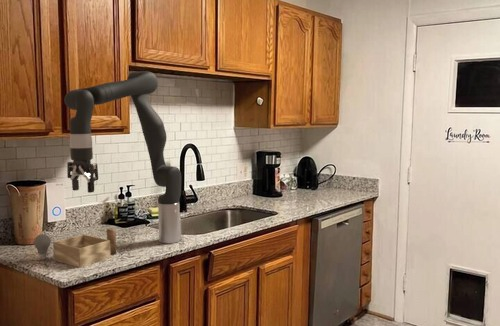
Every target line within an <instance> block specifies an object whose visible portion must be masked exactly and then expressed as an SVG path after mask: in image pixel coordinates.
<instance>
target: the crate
mask: <svg viewBox="0 0 500 326" xmlns="http://www.w3.org/2000/svg"><path fill="white" fill-rule="evenodd" d="M52 244H53V245H52V247H53V260H54V261H56V262H60V263H64V264H67V265H69V266H70V265H71V266H73V267H78V268H83V267H87V266H90V265H92V263H93V264H95V263H99V262H103V261H105V259H106V260H109V259H111V257H112V255H111V252H110V240H107V238H106V239H105V238H100V237H97V236H92V235H87V234H80V235H78V236H77V235H76V236H73V237H69V238H65V239H60V240H57V241H53V242H52ZM108 258H109V259H108Z"/></svg>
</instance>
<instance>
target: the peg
mask: <svg viewBox="0 0 500 326" xmlns="http://www.w3.org/2000/svg"><path fill="white" fill-rule="evenodd" d="M116 234H117V232H116V228H107V229H106V240H110V252H111V256H113V255H114V254H115V255H116V254H117V235H116Z"/></svg>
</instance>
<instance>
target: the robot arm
mask: <svg viewBox="0 0 500 326" xmlns="http://www.w3.org/2000/svg"><path fill="white" fill-rule="evenodd" d="M158 81H159V80H158V77H157V76H156V75H155V73H153V72H151V71H147V70H146V71H144V70H143V71H142V70H141V71H133V72H130V73H129V74H128V75H127V79H126V80H125V79H124V80H117V81H109V82H105V83H104V82H103V83H100V84H96V85H94V86H90V87H85V88H84V87H83V88H77V89H73V90H69V91H68V92H67V93H66V94H65V96H64V99H63V101H64V105H65V106H66V107H67V108H68V109H70V110H73V111H75V116H73V117H72V118H70V120H69V133H70V135H69V151H70V152H69V153H70V155H69V156H70V160H72V161H67V164H66V165H67V178H68V179H70V180H71V188H72V191H74V192H75V191H79V190H80V182H79V178H80V176H83V178H85V179H86V181H87V193H94V192H95V182H96V181H98V180H99V171H98V163H96V162H95V163H92V161H91V160H93V158H94V155H93V154H94V153H93V152H94V151H93V137H92V125H91V124H92V123H91V121H92V118H93V113H94V107H95V105H96V106H98V105H99V106H100V105H103V104H107V103H109V102H113V101H116V100H121V99H124V98H127V97H131V100H132V102H133V105H134V108H135V110H136V113H137V117H138V120H139V123H140V127H141V131H142V134H143V139H144V141H145V143H146V147H147V152H148V157H149V160H150V165H151V173H152V177H153V180H154V183H155V184H156V185H157V186H159V187H162V188H165V192H164V194H161V195H159V196H157V197H158V198H157V203H158V204H157V205H158V206H157V208H158V209H157V210H158V211H157V213H158V214H157V215H158V218H157V219H158V242H159V243H162V244H176V243H178V242H180V241H182V218H181V217H180V200H181V199H180V198H181V195H182V172H181V170H180V168H179V167H176V166H171V165H166V162H165V161H166V160H165V157H164V150H165V146H166V143H167V132H166V129H165V124H164V122H163V120H162V118H161V116H159V114H158V113H157V112H156V110H155V109H154V108H153V107H152V105H151V103H150V101H149V98H148V95H152V94H153V93H154V92H155V91H156V90H157V89H158V84H159V82H158Z"/></svg>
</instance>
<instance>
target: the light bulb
mask: <svg viewBox="0 0 500 326" xmlns="http://www.w3.org/2000/svg"><path fill="white" fill-rule="evenodd" d="M51 241H52V240H51V238H50V236H49V235H48V234H45V233H41V234H38V235H36V237H35V238H34V240H33V245H34V247H35V249H36V250H37V253H38V257H39V260H41V261H44V260H46V259H47V256H48V255H47V253H48V249H49V247H50V245H51V243H52V242H51Z"/></svg>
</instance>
